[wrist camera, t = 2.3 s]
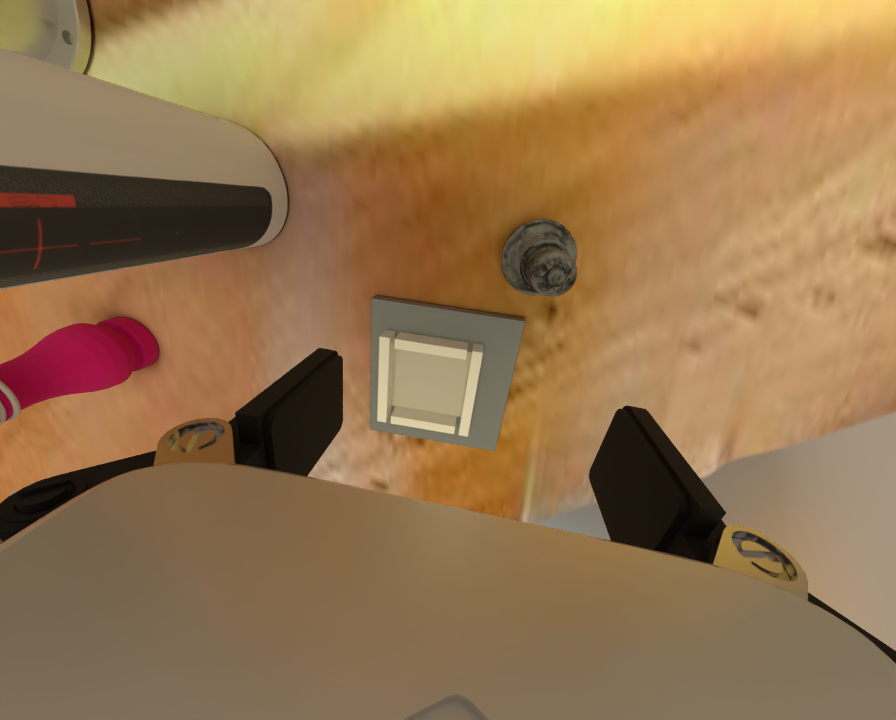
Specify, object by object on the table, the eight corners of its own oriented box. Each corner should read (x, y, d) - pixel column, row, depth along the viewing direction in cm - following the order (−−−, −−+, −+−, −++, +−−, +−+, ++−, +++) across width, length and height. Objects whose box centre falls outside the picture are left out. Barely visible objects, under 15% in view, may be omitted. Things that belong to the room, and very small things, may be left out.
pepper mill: (105, 352, 40) (-214, 472, 22) (103, 301, 36) (-275, 391, 18) (162, 377, 40) (-103, 513, 22) (164, 329, 37) (-142, 441, 19)
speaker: (249, 270, 33) (-355, 424, 9) (160, 182, 30) (-995, 89, 7) (312, 196, 29) (-434, 139, 6) (217, 87, 26) (-1973, -893, 3)
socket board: (375, 295, 32) (364, 303, 29) (524, 317, 31) (527, 328, 29) (373, 423, 39) (363, 440, 36) (494, 444, 38) (494, 463, 36)
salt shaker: (526, 204, 27) (549, 200, 16) (581, 242, 28) (638, 262, 17) (487, 264, 30) (486, 295, 19) (539, 298, 30) (566, 346, 20)
